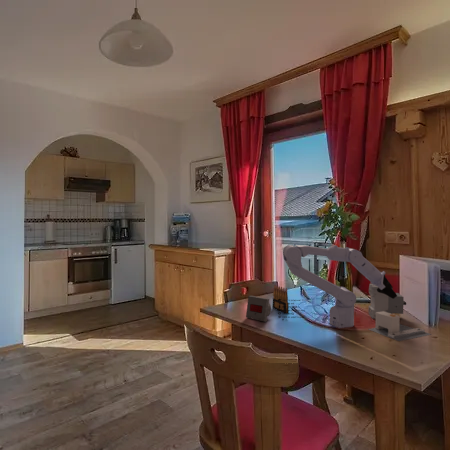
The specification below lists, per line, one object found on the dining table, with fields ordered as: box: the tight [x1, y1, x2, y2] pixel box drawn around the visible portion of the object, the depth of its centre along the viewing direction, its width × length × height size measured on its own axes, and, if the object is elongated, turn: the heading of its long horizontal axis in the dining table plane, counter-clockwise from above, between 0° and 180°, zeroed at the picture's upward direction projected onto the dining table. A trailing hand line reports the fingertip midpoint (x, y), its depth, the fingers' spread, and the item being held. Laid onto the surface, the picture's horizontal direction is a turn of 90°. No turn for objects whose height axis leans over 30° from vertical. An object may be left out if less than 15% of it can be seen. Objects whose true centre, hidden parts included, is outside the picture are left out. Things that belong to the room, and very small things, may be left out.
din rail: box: [387, 327, 426, 340], centre depth 126 cm, size 17×3×1 cm, turn 114°
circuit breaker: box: [367, 283, 407, 320], centre depth 148 cm, size 8×14×15 cm, turn 78°
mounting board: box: [367, 323, 432, 342], centre depth 129 cm, size 18×14×1 cm
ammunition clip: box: [271, 284, 290, 314], centre depth 161 cm, size 11×2×12 cm, turn 28°
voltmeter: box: [245, 295, 306, 323], centre depth 147 cm, size 27×11×10 cm, turn 89°
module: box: [374, 311, 401, 333], centre depth 131 cm, size 4×7×7 cm, turn 24°
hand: (392, 292), depth 137 cm, fingers open, 7 cm apart
